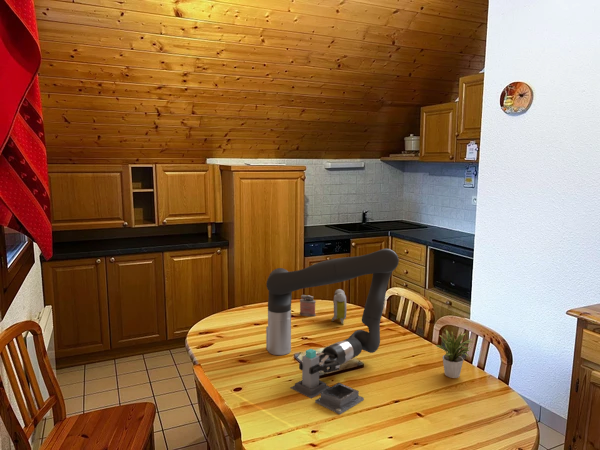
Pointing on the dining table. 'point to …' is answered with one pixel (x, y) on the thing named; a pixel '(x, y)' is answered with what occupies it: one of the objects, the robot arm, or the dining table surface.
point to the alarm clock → (339, 306)
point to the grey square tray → (310, 392)
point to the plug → (308, 362)
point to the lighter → (307, 306)
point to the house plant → (453, 354)
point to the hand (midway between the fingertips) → (305, 369)
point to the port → (339, 398)
